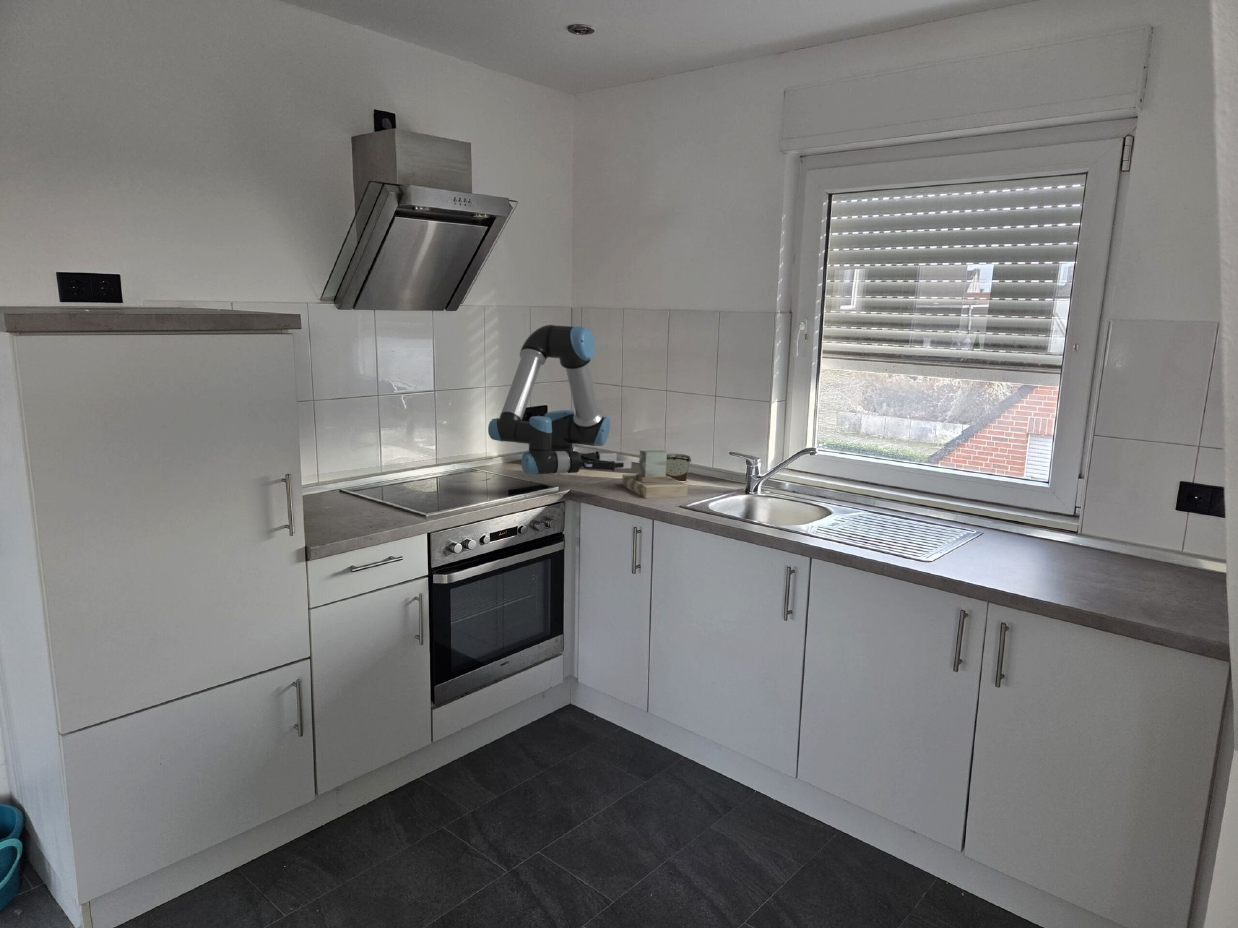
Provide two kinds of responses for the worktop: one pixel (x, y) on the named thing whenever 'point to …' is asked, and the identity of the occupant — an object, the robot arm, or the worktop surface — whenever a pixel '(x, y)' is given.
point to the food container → (677, 466)
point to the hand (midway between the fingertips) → (623, 460)
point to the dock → (655, 487)
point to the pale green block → (652, 465)
